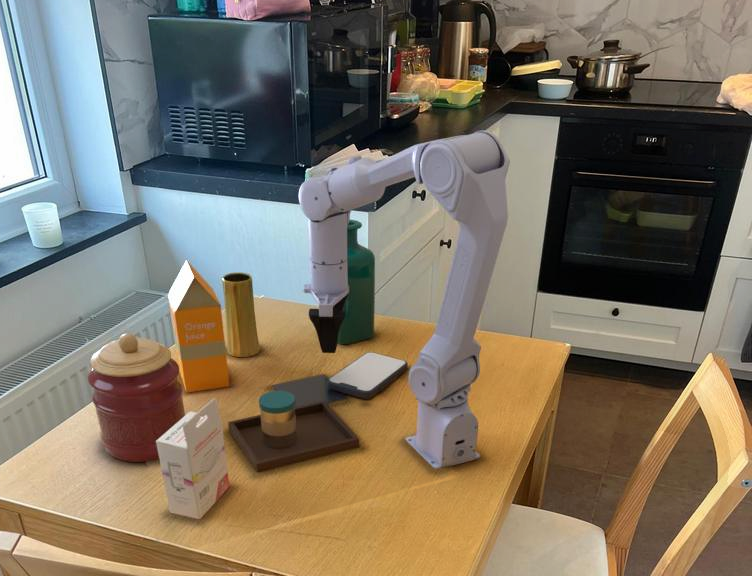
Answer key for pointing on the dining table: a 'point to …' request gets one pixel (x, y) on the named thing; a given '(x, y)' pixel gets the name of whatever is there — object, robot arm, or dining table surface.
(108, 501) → the dining table surface
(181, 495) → the ink cartridge box
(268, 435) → the teal lidded glass jar
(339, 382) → the phone case
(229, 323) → the vase
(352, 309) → the green glass bottle
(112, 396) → the kitchen canister
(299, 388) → the slate coaster
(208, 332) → the orange juice
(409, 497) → the dining table surface
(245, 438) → the tray
